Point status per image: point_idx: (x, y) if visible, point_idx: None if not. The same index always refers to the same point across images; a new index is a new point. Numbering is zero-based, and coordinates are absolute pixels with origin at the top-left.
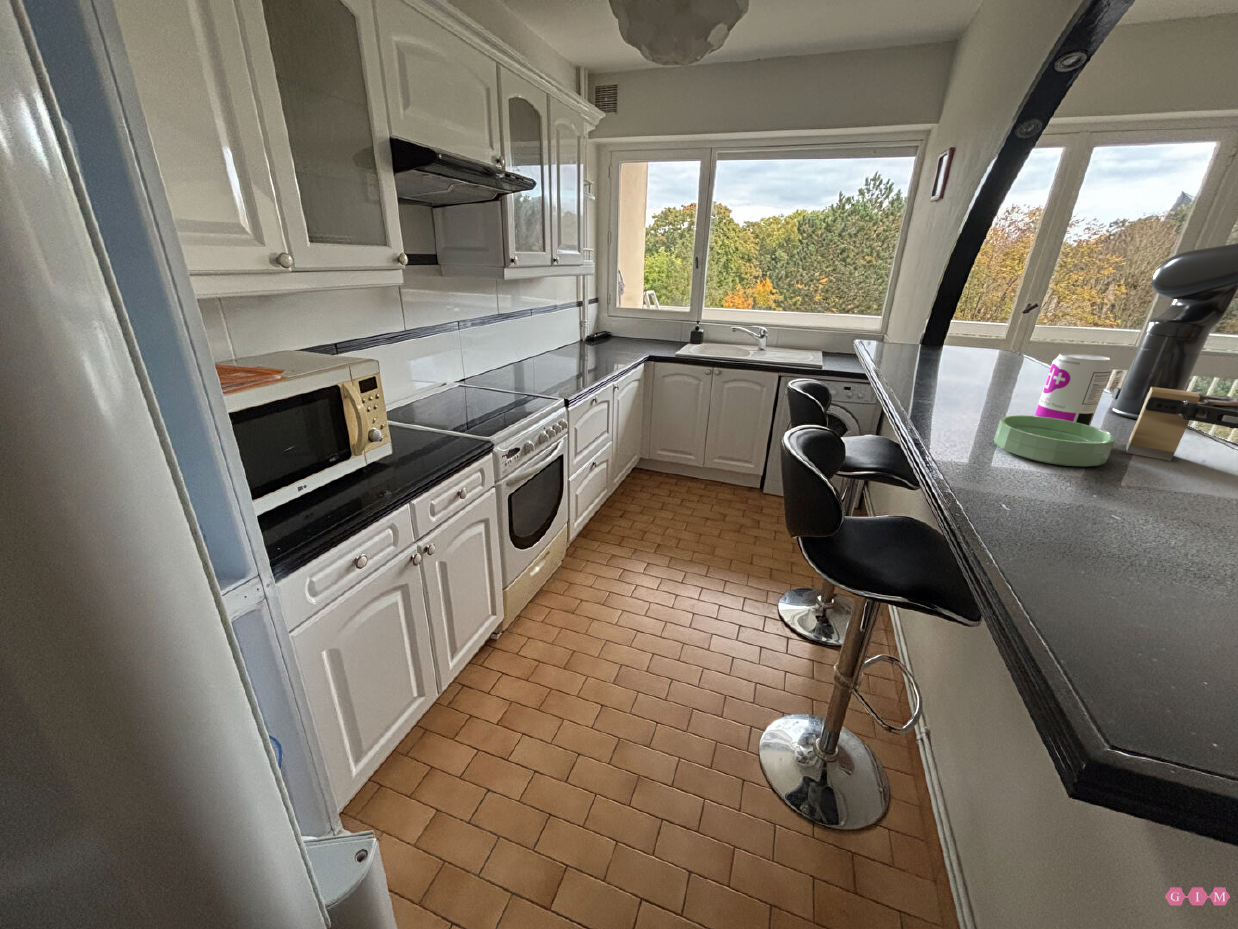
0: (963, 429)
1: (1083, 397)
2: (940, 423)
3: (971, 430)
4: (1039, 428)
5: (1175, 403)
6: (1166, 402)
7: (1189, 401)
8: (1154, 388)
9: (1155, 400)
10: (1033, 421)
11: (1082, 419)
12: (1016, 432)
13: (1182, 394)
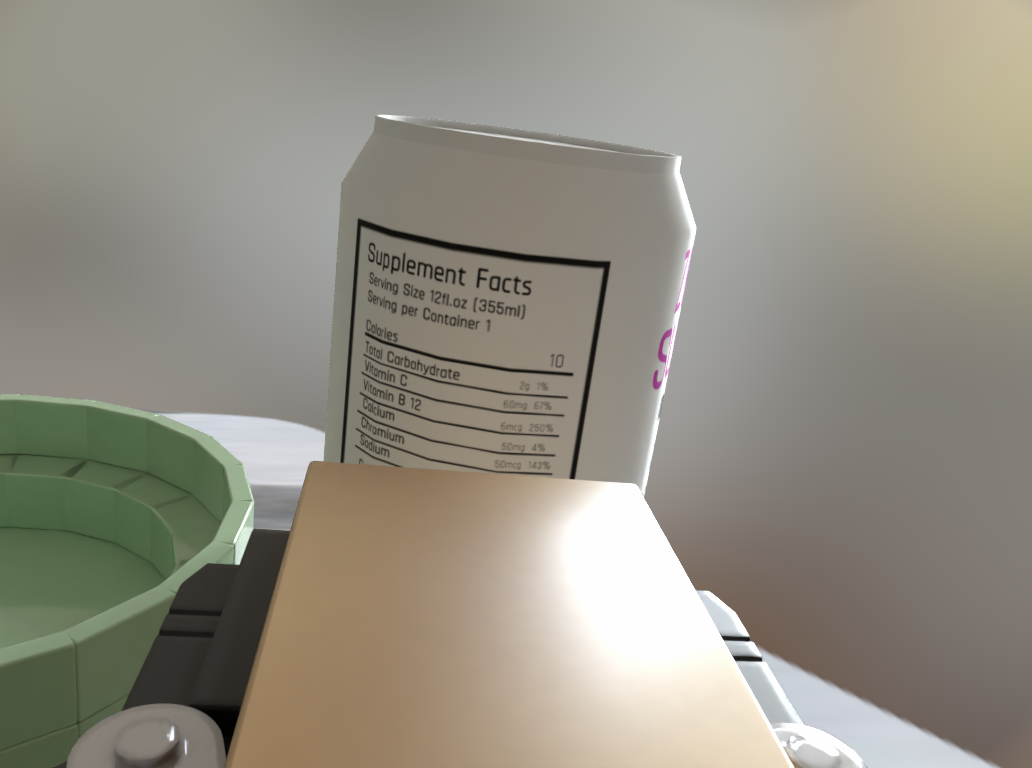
0: (244, 462)
1: (338, 416)
2: (289, 426)
3: (248, 475)
4: (202, 540)
5: (142, 693)
6: (190, 639)
7: (108, 750)
8: (545, 488)
9: (230, 573)
10: (219, 491)
11: None
12: None
13: (309, 618)
